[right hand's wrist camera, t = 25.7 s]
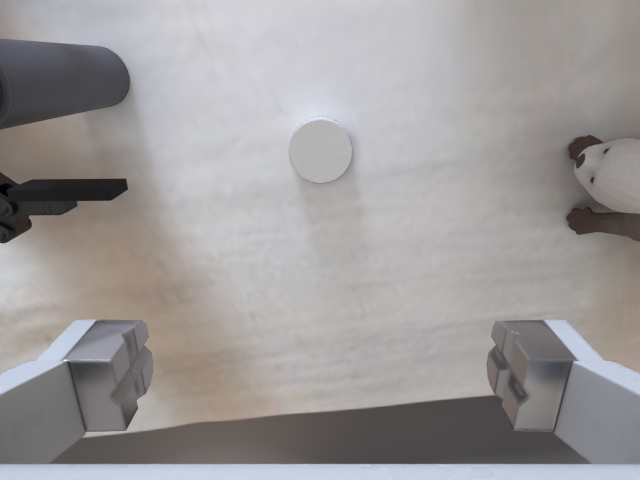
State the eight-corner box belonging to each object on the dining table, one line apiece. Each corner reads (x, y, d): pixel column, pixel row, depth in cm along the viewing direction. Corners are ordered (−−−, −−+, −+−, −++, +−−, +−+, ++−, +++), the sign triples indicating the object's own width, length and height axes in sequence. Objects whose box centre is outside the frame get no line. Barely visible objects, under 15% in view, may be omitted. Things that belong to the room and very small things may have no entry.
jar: (60, 74, 33) (-135, 83, 19) (95, 32, 31) (-83, 9, 18) (106, 118, 34) (-45, 157, 20) (141, 79, 33) (8, 91, 19)
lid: (362, 155, 35) (364, 160, 33) (312, 188, 36) (312, 194, 34) (328, 104, 33) (329, 106, 32) (278, 139, 34) (276, 143, 33)
